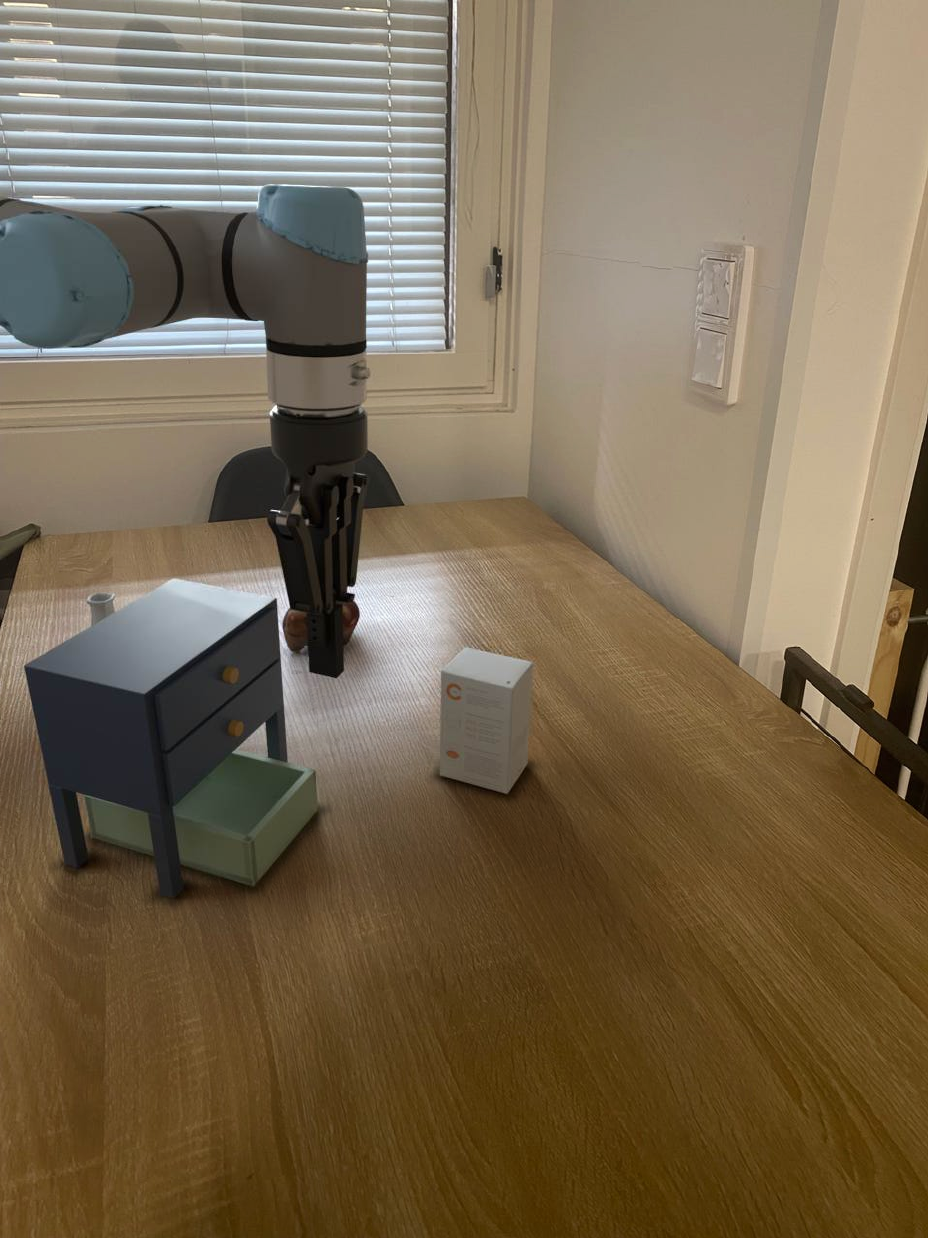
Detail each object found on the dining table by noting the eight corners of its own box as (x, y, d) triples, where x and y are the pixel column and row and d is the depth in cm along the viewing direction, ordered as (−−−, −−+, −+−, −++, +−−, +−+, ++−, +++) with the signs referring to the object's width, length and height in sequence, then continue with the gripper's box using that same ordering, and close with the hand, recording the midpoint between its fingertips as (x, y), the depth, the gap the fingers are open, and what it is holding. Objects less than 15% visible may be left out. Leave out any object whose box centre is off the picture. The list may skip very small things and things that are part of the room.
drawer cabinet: (64, 864, 84) (23, 665, 75) (194, 751, 101) (173, 577, 92) (187, 903, 80) (159, 698, 71) (300, 779, 97) (289, 600, 88)
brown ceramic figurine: (264, 666, 119) (259, 609, 116) (315, 625, 132) (311, 573, 129) (332, 675, 116) (328, 617, 113) (377, 633, 130) (375, 579, 127)
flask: (124, 684, 114) (113, 611, 109) (70, 678, 115) (57, 606, 110) (151, 657, 120) (141, 588, 116) (100, 651, 121) (88, 583, 117)
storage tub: (91, 837, 88) (83, 795, 85) (169, 770, 98) (163, 730, 96) (253, 886, 82) (249, 843, 80) (317, 810, 92) (315, 769, 90)
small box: (528, 764, 101) (535, 661, 95) (507, 796, 95) (513, 688, 90) (461, 746, 103) (464, 644, 98) (437, 776, 98) (439, 670, 92)
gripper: (320, 430, 64) (329, 716, 74) (397, 395, 75) (395, 648, 85) (229, 417, 66) (249, 697, 76) (316, 385, 77) (324, 633, 87)
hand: (326, 671), depth 81 cm, fingers closed
